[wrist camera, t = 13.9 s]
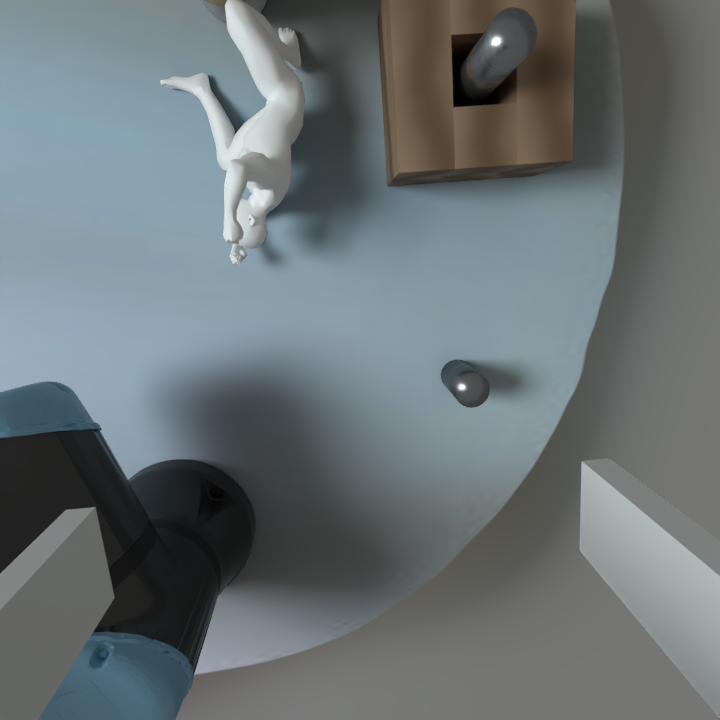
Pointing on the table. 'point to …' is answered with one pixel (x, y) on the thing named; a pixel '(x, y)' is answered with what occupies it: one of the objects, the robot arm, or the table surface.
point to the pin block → (502, 106)
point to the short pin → (465, 383)
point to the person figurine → (254, 125)
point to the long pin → (494, 56)
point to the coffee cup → (216, 6)
